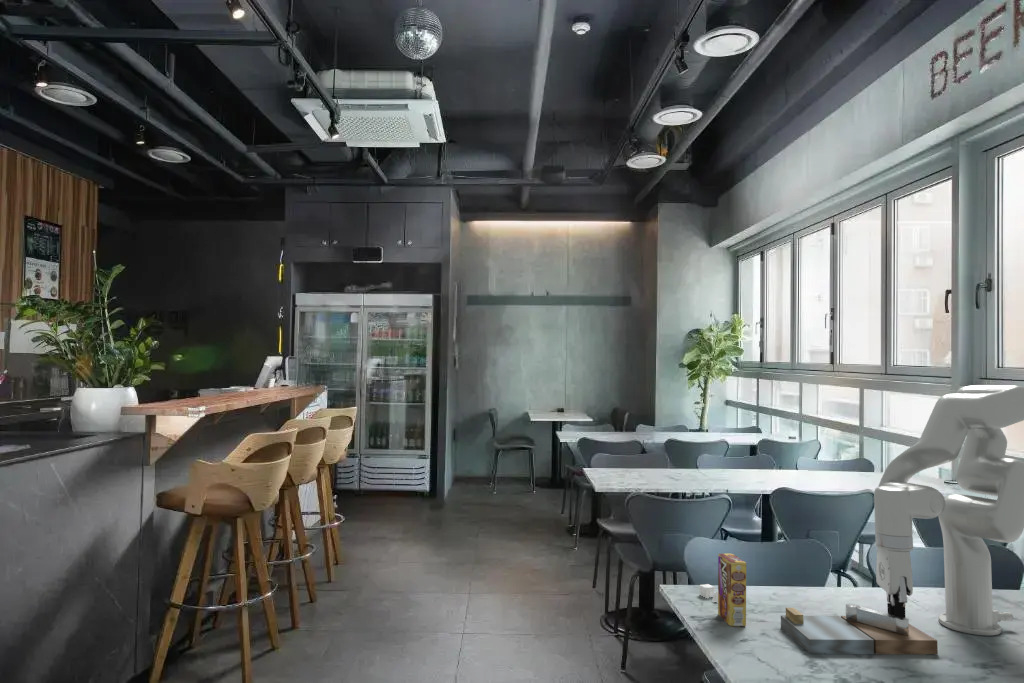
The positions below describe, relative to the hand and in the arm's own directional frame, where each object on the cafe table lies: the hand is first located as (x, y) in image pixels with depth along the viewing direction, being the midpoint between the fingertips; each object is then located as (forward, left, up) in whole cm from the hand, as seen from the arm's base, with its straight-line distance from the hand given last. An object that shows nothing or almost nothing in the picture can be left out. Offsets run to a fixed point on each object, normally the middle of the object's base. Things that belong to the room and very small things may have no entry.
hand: (896, 622), depth 151 cm
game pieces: (+33, -27, -5) cm, 43 cm away
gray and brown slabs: (+10, 0, -4) cm, 10 cm away
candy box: (+34, -13, -5) cm, 36 cm away
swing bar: (+4, -1, -1) cm, 4 cm away
